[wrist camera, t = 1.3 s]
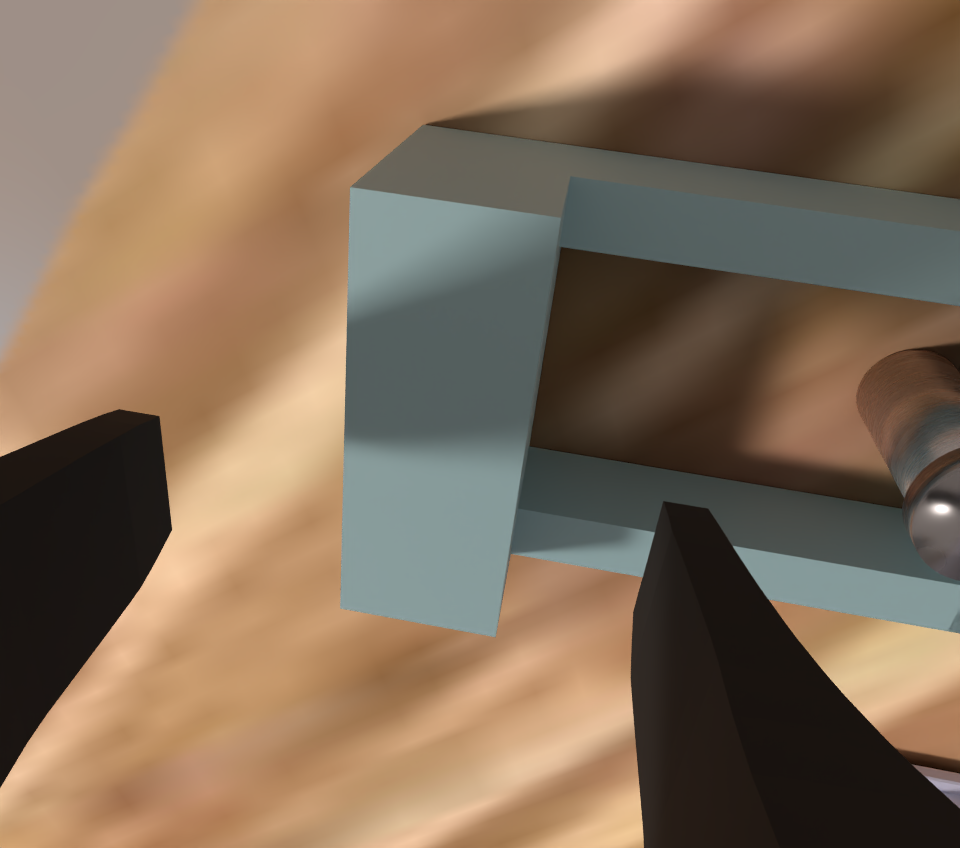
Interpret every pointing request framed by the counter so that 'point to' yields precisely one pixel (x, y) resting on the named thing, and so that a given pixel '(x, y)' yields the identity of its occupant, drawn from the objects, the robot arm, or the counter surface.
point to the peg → (920, 446)
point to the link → (519, 357)
